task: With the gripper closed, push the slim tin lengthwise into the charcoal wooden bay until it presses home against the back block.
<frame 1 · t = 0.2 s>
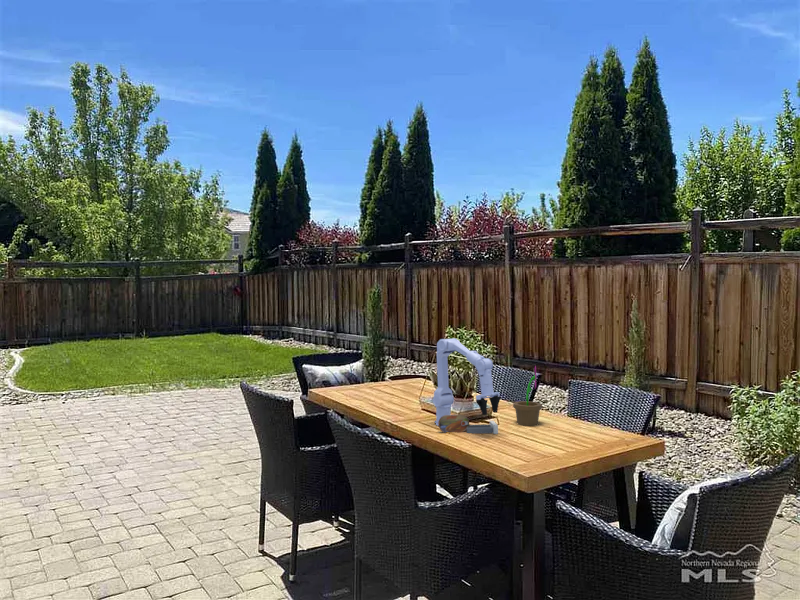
hand: (490, 413, 275), 10 cm above the table, tool pointing down, fingers open, 7 cm apart
tin: (453, 432, 283), on the table
bay: (478, 431, 284), on the table
flowerpot: (527, 424, 300), on the table
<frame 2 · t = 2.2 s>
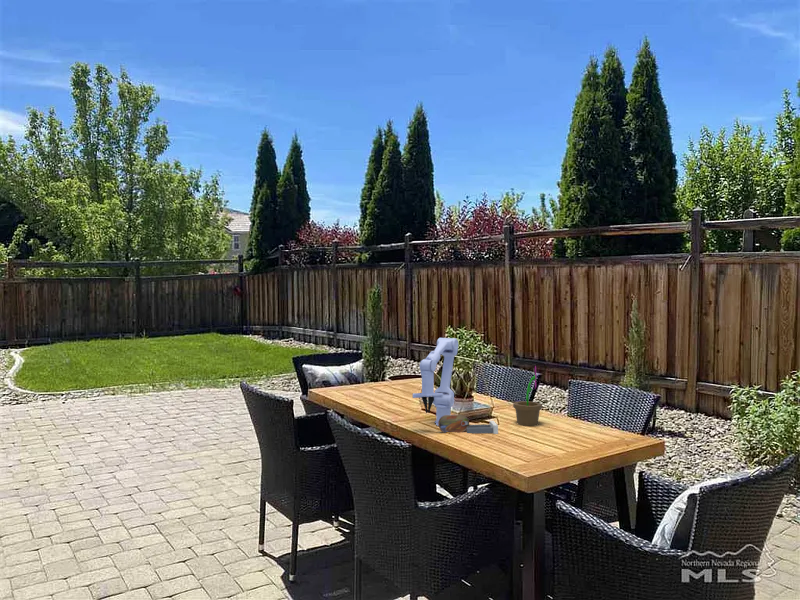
hand: (427, 412, 283), 9 cm above the table, tool pointing down, fingers closed
nothing on the table moved.
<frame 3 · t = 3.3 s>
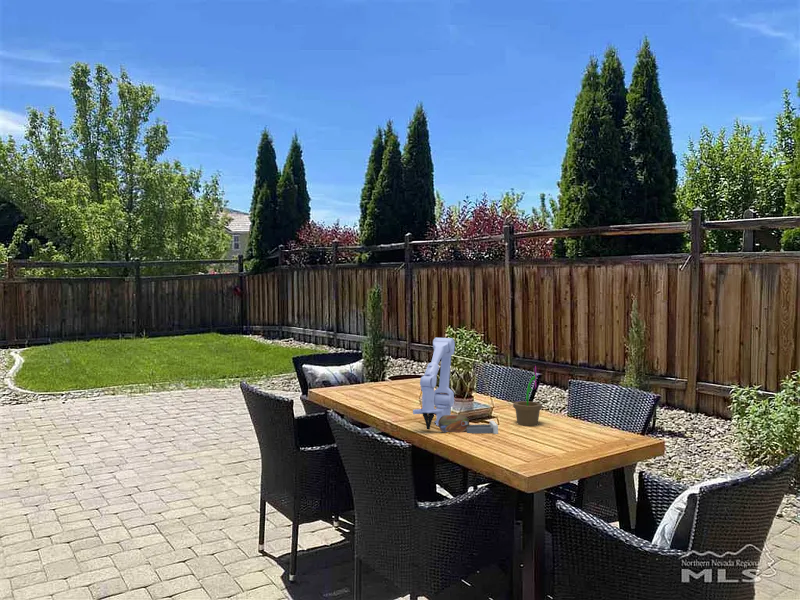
hand: (428, 428, 283), 2 cm above the table, tool pointing down, fingers closed
nothing on the table moved.
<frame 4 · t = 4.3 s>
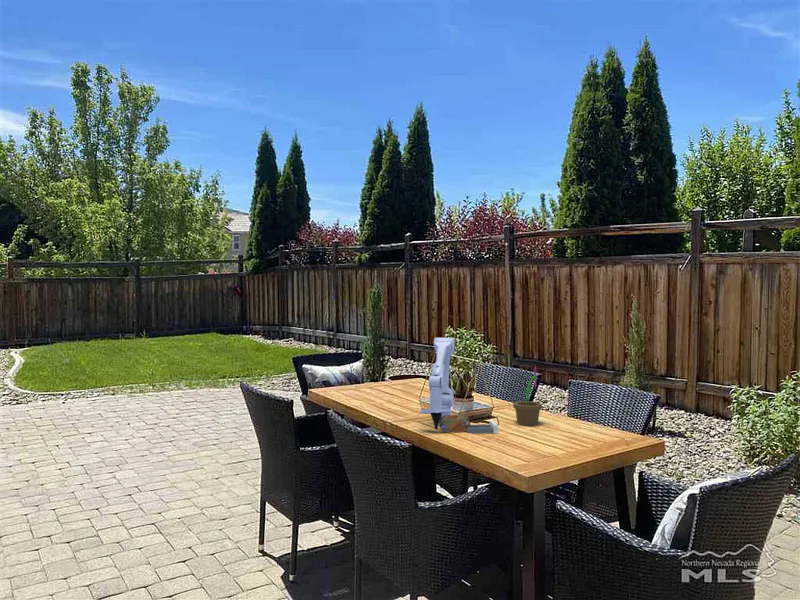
hand: (436, 428, 283), 2 cm above the table, tool pointing down, fingers closed
tin: (454, 432, 283), on the table, touching gripper
everything else where it was.
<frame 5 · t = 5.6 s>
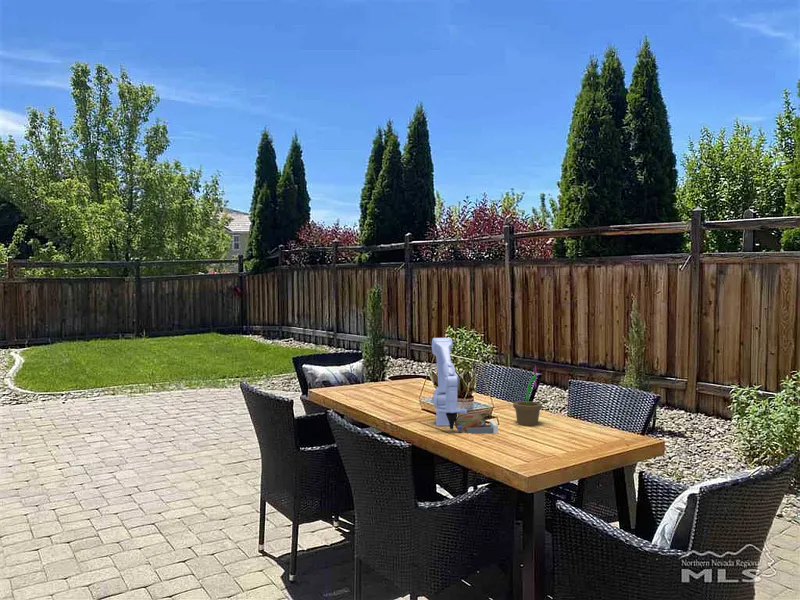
hand: (451, 428, 283), 2 cm above the table, tool pointing down, fingers closed
tin: (470, 432, 284), on the table, touching gripper
everything else where it was.
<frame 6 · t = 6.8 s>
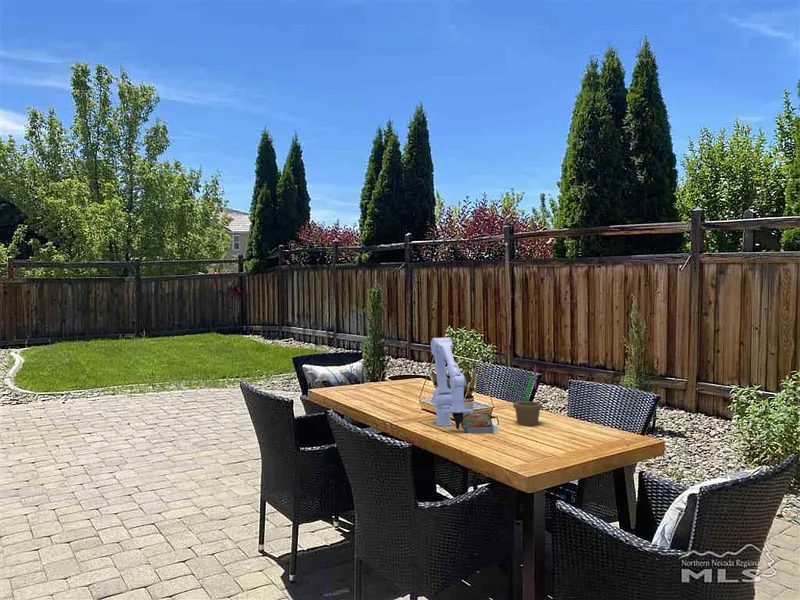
hand: (457, 428, 284), 2 cm above the table, tool pointing down, fingers closed
tin: (476, 432, 284), on the table, touching bay, gripper
everything else where it was.
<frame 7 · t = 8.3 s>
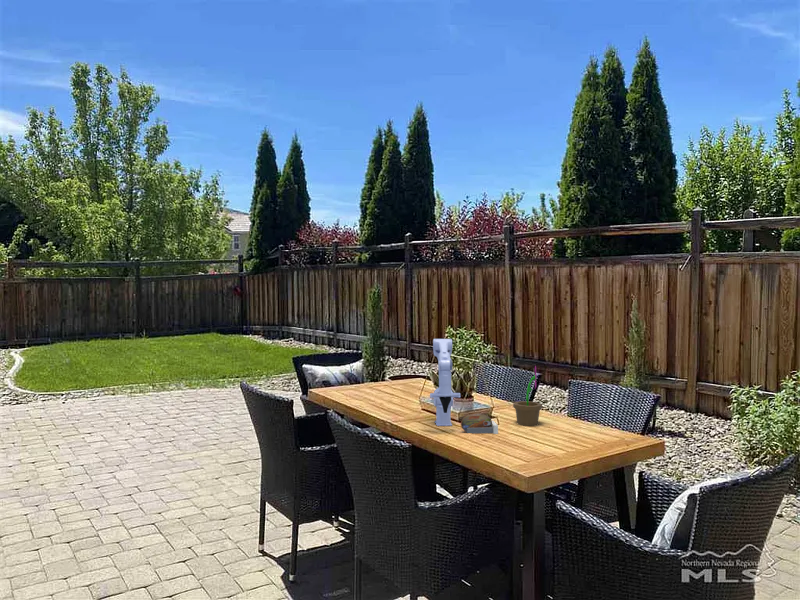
hand: (445, 412, 283), 9 cm above the table, tool pointing down, fingers closed
tin: (476, 432, 284), on the table
everything else where it was.
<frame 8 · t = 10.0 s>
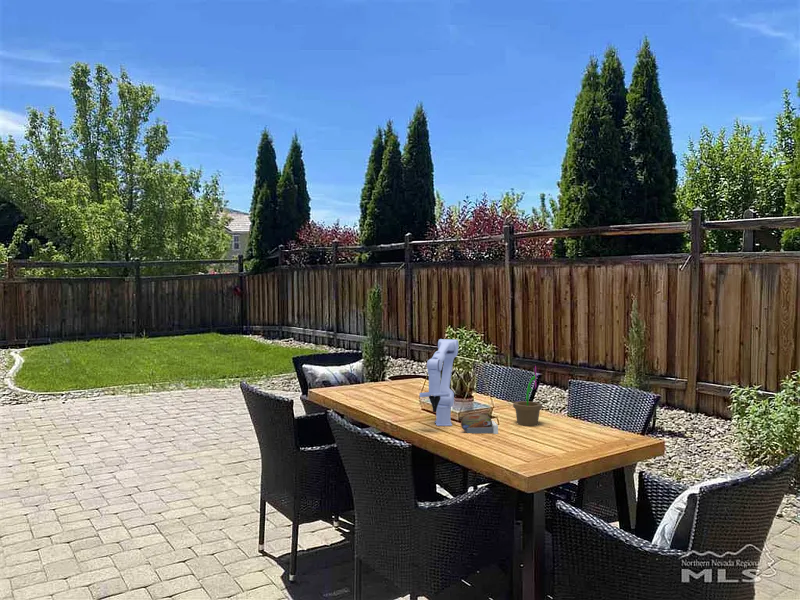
hand: (434, 411, 285), 9 cm above the table, tool pointing down, fingers closed
nothing on the table moved.
at the end: tin 0.6 cm from the target spot on the bay, point 0.0 cm above the bay's base; tin tilted 0°; tin moved 10.9 cm from its start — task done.
